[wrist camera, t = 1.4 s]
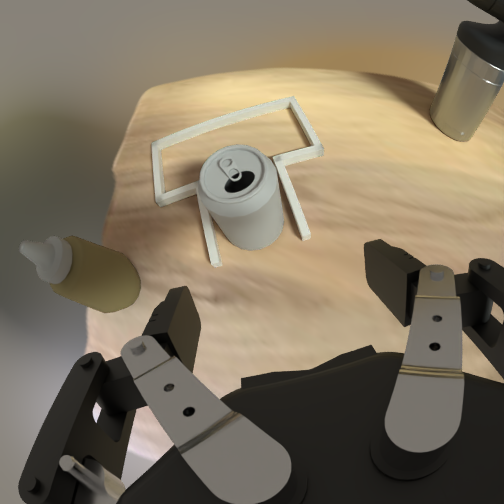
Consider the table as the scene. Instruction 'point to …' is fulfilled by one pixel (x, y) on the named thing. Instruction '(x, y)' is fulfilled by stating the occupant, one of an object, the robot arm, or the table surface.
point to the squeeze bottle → (85, 272)
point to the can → (242, 196)
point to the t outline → (279, 161)
